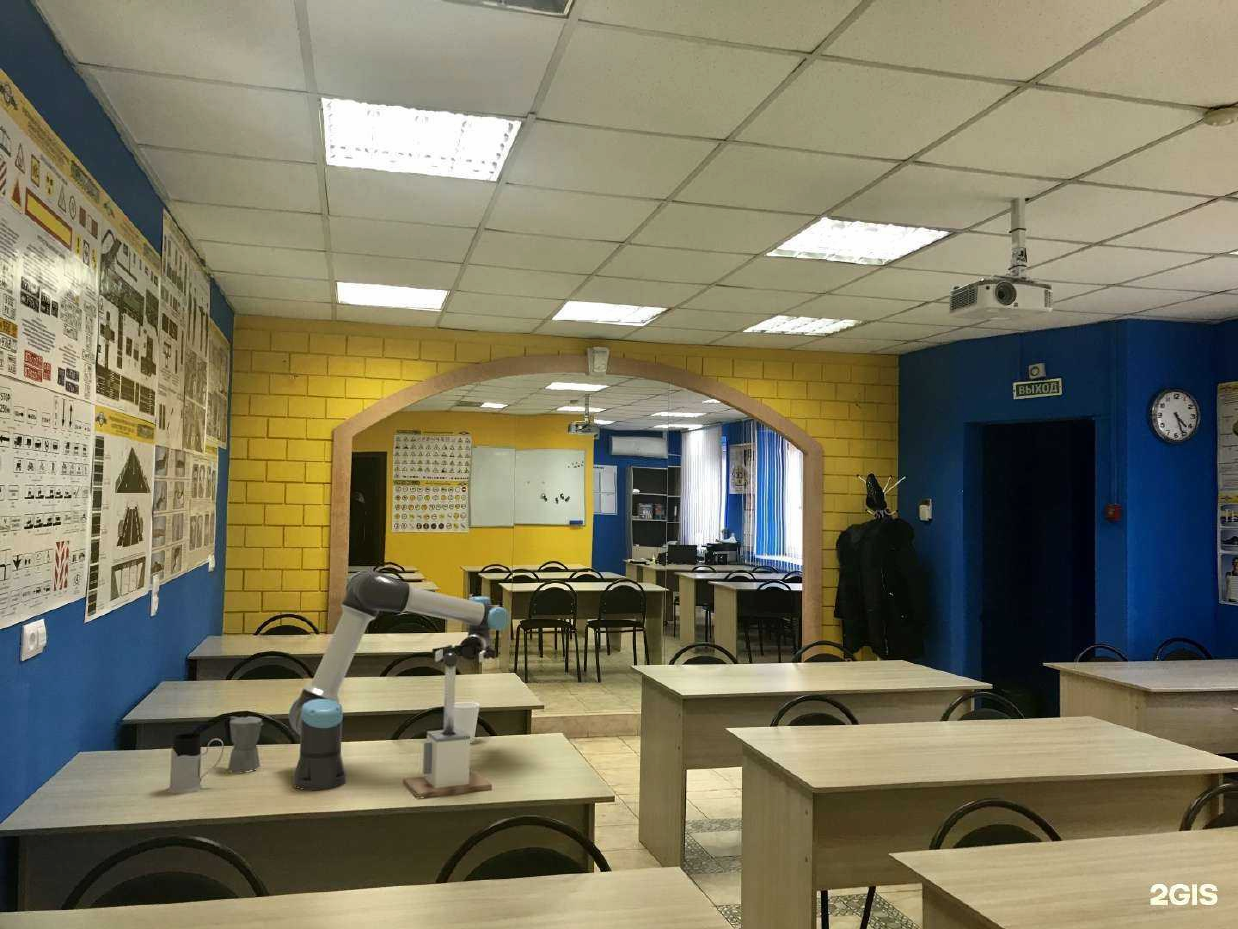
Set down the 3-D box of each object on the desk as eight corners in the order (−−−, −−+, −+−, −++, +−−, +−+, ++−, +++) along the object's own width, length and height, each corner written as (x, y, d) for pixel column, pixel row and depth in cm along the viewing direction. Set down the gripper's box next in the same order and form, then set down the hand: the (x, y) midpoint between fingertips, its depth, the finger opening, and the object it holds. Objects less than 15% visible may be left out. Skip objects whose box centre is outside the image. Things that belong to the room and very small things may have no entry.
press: (428, 789, 264) (429, 739, 265) (418, 780, 273) (419, 732, 273) (468, 784, 270) (470, 735, 270) (458, 775, 278) (459, 728, 279)
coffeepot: (271, 768, 287) (273, 710, 288) (248, 776, 279) (251, 715, 280) (234, 762, 293) (236, 705, 294) (210, 769, 285) (213, 710, 286)
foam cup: (481, 739, 329) (482, 702, 330) (474, 745, 320) (475, 708, 321) (455, 738, 330) (456, 701, 331) (447, 744, 321) (449, 706, 322)
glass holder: (169, 786, 267) (171, 733, 268) (222, 782, 272) (224, 730, 273) (166, 795, 259) (168, 740, 259) (221, 790, 264) (223, 737, 265)
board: (417, 799, 259) (417, 793, 259) (402, 784, 273) (402, 779, 274) (491, 789, 270) (491, 784, 270) (473, 775, 284) (473, 770, 284)
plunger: (440, 745, 268) (443, 654, 269) (433, 740, 274) (435, 651, 275) (463, 743, 271) (466, 653, 272) (455, 738, 277) (458, 650, 278)
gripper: (510, 659, 304) (498, 670, 282) (435, 658, 305) (418, 669, 284) (510, 636, 304) (498, 646, 283) (435, 635, 305) (418, 644, 284)
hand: (458, 657), depth 283 cm, fingers open, 13 cm apart
